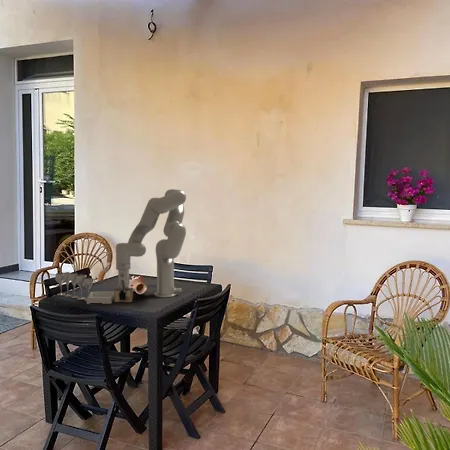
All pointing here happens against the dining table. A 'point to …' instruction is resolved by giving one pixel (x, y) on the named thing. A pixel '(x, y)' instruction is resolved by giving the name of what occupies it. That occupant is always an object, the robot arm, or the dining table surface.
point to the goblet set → (74, 282)
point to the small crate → (128, 295)
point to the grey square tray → (100, 297)
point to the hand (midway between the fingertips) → (123, 297)
